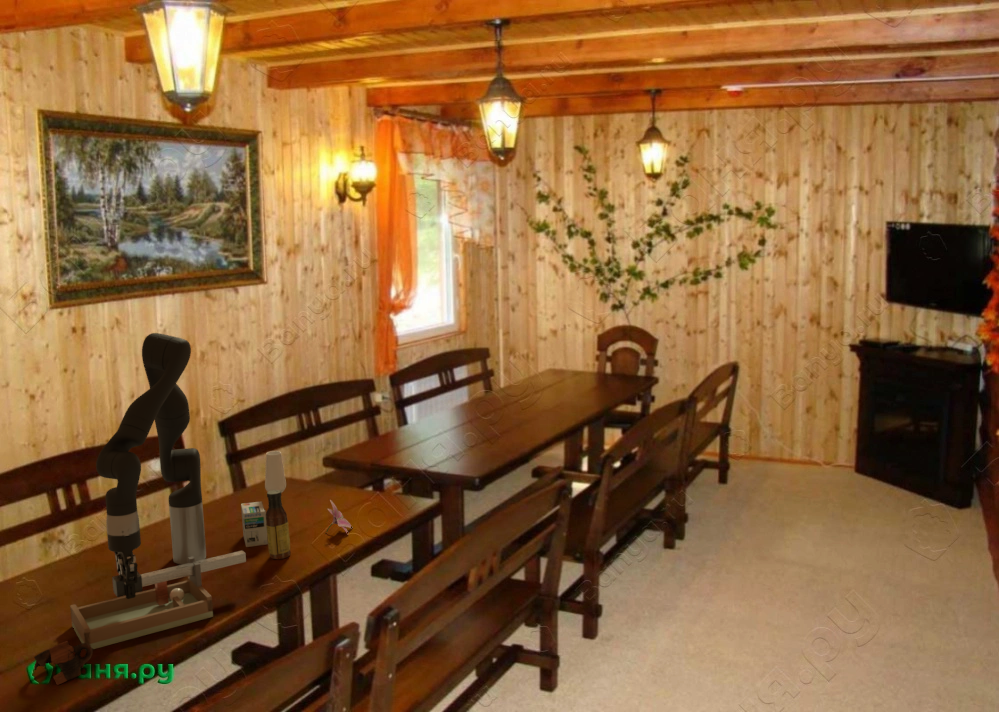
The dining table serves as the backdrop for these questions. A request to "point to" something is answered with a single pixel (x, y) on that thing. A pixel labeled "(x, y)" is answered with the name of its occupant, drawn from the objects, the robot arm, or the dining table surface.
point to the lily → (338, 518)
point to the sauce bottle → (277, 527)
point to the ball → (177, 593)
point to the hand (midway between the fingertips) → (128, 594)
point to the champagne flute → (274, 472)
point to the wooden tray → (141, 613)
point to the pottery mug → (65, 660)
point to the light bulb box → (254, 524)
